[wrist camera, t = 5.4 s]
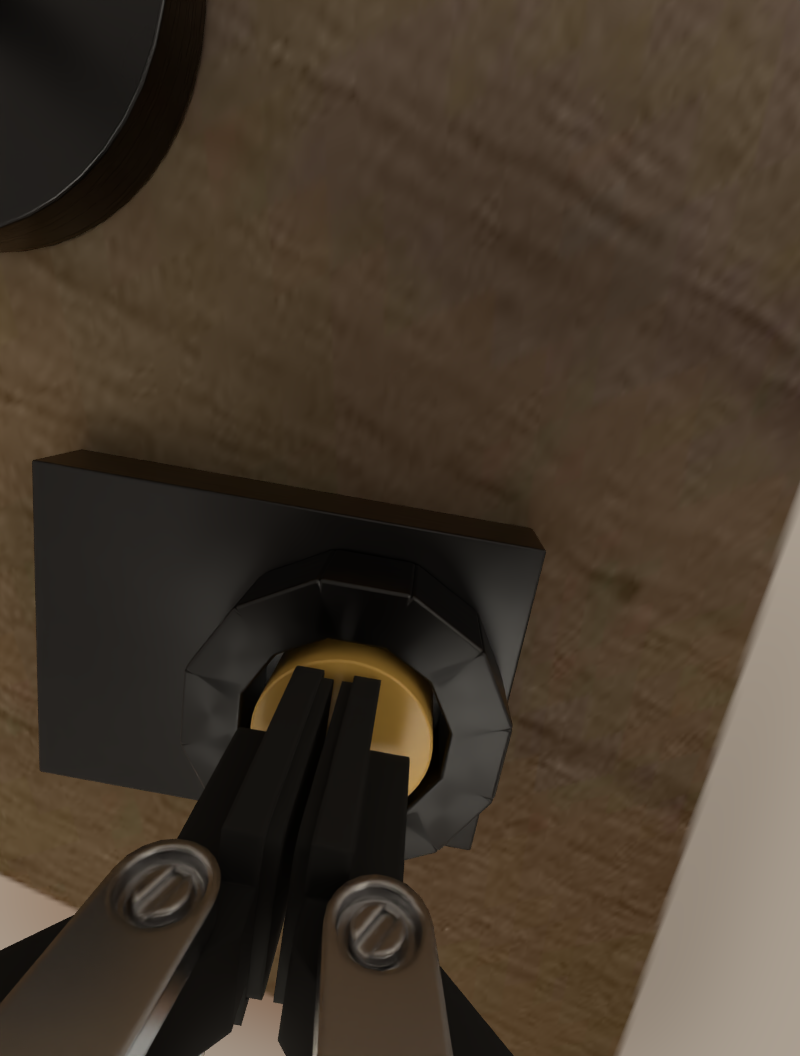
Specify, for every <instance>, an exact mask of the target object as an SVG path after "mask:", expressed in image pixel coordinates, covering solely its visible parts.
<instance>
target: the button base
mask: <svg viewBox="0 0 800 1056" xmlns="http://www.w3.org/2000/svg"><path fill="white" fill-rule="evenodd" d="M32 473H33V515H34V556H35V598H36V640H37V681H38V723H39V764H40V771H41V772H47V773H52V774H57V775H63V776H68V777H74V778H79V779H85V780H90V781H95V782H101V783H106V784H112V785H117V786H123V787H128V788H134V789H139V790H144V791H150V792H155V793H161V794H166V795H172V796H177V797H182V798H188V799H193V800H199V798H200V796H201V794H202V792H203V790H204V789H205V787H206V785H207V783H208V781H209V779H210V778H211V776H212V774H213V772H214V770H215V768H216V767H217V765H218V763H219V761H220V759H221V757H222V756H223V754H224V752H225V750H226V748H227V746H228V744H229V743H230V741H231V739H232V737H233V735H234V734H235V732H236V731H237V729H238V728H240V727H244V728H250V729H251V720H252V714H253V712H254V709H255V706H256V704H257V702H258V700H259V698H260V696H261V694H262V692H263V690H264V689H265V687H266V685H267V683H268V681H269V679H270V677H271V676H272V674H273V672H274V670H275V668H276V666H277V664H278V663H279V661H280V659H281V657H282V655H283V653H284V652H287V651H290V650H293V649H296V648H299V647H302V646H306V645H309V644H312V643H315V642H318V641H321V640H324V639H327V638H329V639H334V640H340V641H345V642H351V643H357V644H362V645H368V646H373V647H379V648H384V649H387V650H388V651H389V652H391V653H392V654H393V655H394V656H396V657H397V658H398V659H400V660H401V661H402V662H404V663H405V664H406V665H407V666H409V667H410V668H411V669H413V670H414V671H415V672H417V673H418V674H419V675H420V676H422V677H423V678H424V679H426V680H427V681H428V682H430V684H431V687H432V689H433V750H432V757H431V761H430V764H429V767H428V770H427V772H426V774H425V776H424V778H423V779H422V781H421V782H420V783H419V785H418V786H417V787H416V789H415V790H414V791H413V792H412V793H411V794H410V795H409V796H408V803H407V821H406V839H405V856H404V860H407V859H411V858H415V857H419V856H423V855H427V854H432V853H435V852H437V850H440V849H441V848H442V847H443V846H449V847H454V848H460V849H465V850H470V849H471V845H472V842H473V838H474V834H475V830H476V826H477V822H478V818H479V814H480V813H481V812H482V811H483V810H484V809H485V808H487V807H488V806H489V805H490V804H491V803H492V800H493V798H494V797H495V794H496V790H497V787H498V783H499V779H500V775H501V771H502V767H503V764H504V760H505V756H506V752H507V748H508V744H509V741H510V737H511V733H512V721H511V716H510V711H509V707H508V700H509V696H510V692H511V688H512V684H513V680H514V676H515V672H516V668H517V664H518V660H519V656H520V652H521V648H522V645H523V641H524V637H525V633H526V629H527V625H528V621H529V617H530V613H531V609H532V605H533V601H534V597H535V593H536V589H537V585H538V581H539V578H540V574H541V570H542V566H543V562H544V558H545V554H546V550H545V549H544V547H543V545H542V544H541V542H540V541H539V539H538V537H537V536H536V534H535V532H534V531H533V529H531V528H525V527H520V526H514V525H508V524H503V523H497V522H491V521H485V520H480V519H474V518H468V517H463V516H457V515H451V514H446V513H440V512H434V511H429V510H423V509H417V508H411V507H406V506H400V505H394V504H389V503H383V502H377V501H372V500H366V499H360V498H355V497H349V496H343V495H337V494H332V493H326V492H320V491H315V490H309V489H303V488H298V487H292V486H286V485H281V484H275V483H269V482H263V481H258V480H252V479H246V478H241V477H235V476H229V475H224V474H218V473H212V472H207V471H201V470H195V469H190V468H184V467H178V466H172V465H167V464H161V463H155V462H150V461H144V460H138V459H133V458H127V457H121V456H116V455H110V454H104V453H98V452H93V451H87V450H77V451H73V452H68V453H64V454H59V455H55V456H50V457H45V458H41V459H36V460H33V462H32Z"/></svg>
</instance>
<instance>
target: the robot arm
mask: <svg viewBox="0 0 800 1056" xmlns="http://www.w3.org/2000/svg"><path fill="white" fill-rule="evenodd" d="M324 675H325V671H324V670H321V669H316V668H310V667H304V666H299V665H297V666H296V668H295V669H294V672H293V674H292V676H291V678H290V680H289V683H288V685H287V687H286V689H285V691H284V693H283V696H282V698H281V700H280V702H279V704H278V706H277V709H276V711H275V713H274V715H273V717H272V720H271V722H270V724H269V726H268V728H267V730H266V731H261V730H255V729H250V728H244V727H240V728H238V729H237V731H236V732H235V734H234V735H233V737H232V739H231V741H230V743H229V744H228V746H227V748H226V750H225V752H224V754H223V756H222V757H221V759H220V761H219V763H218V765H217V767H216V768H215V770H214V772H213V774H212V776H211V778H210V779H209V781H208V783H207V785H206V787H205V789H204V790H203V792H202V794H201V796H200V798H199V800H198V802H197V803H196V805H195V807H194V809H193V811H192V813H191V814H190V816H189V818H188V820H187V822H186V824H185V825H184V827H183V829H182V831H181V833H180V835H179V836H178V838H177V839H168V840H160V841H157V842H153V843H150V844H147V845H144V846H142V847H140V848H139V849H137V850H135V851H134V852H132V853H130V854H128V855H127V856H126V857H125V858H124V859H123V860H121V861H120V862H119V863H118V864H117V865H116V866H115V867H114V868H113V869H112V870H111V872H110V873H109V874H108V875H107V876H106V878H105V879H104V880H103V881H102V882H101V884H100V885H99V886H98V887H97V888H96V889H95V891H94V892H93V893H92V894H91V895H90V897H89V898H88V899H87V900H86V901H85V903H84V904H83V905H82V906H81V907H80V909H79V910H78V911H77V912H76V913H75V915H73V916H71V917H69V918H67V919H65V920H63V921H61V922H58V923H56V924H55V925H52V926H50V927H48V928H46V929H44V930H42V931H40V932H38V933H36V934H34V935H31V936H29V937H27V938H25V939H23V940H21V941H19V942H17V943H15V944H13V945H11V946H9V947H7V948H4V949H3V950H0V1056H204V1054H205V1051H206V1050H207V1049H209V1048H210V1047H211V1046H213V1045H214V1044H215V1043H217V1042H218V1041H220V1040H221V1039H222V1038H224V1037H225V1036H226V1035H228V1034H229V1033H230V1032H231V1031H232V1028H233V1024H235V1025H240V1026H241V1024H242V1021H243V1017H244V1014H245V1010H246V1007H247V1004H248V1000H249V998H252V999H258V1000H262V998H263V996H264V992H265V989H266V985H267V982H268V978H269V974H270V971H271V967H272V963H273V959H274V956H275V952H276V948H277V944H278V941H279V937H280V933H281V930H282V926H283V922H284V928H283V936H282V943H281V950H280V957H279V964H278V971H277V979H276V986H275V993H274V1001H273V1002H275V1003H280V1004H283V1009H282V1016H281V1023H280V1029H279V1036H278V1042H279V1043H280V1046H281V1047H282V1049H283V1051H284V1053H285V1055H286V1056H513V1054H512V1053H511V1052H510V1051H509V1050H508V1048H507V1047H506V1046H505V1045H504V1043H503V1042H502V1041H501V1040H500V1039H499V1037H498V1036H497V1035H496V1034H495V1032H494V1031H493V1030H492V1029H491V1028H490V1026H489V1025H488V1024H487V1023H486V1022H485V1020H484V1019H483V1018H482V1017H481V1015H480V1014H479V1013H478V1012H477V1011H476V1009H475V1008H474V1007H473V1006H472V1004H471V1003H470V1002H469V1001H468V1000H467V998H466V997H465V996H464V995H463V993H462V992H461V991H460V990H459V989H458V987H457V986H456V985H455V984H454V983H453V981H452V980H451V979H450V978H449V976H448V975H447V974H446V973H445V972H444V970H443V969H442V968H441V967H440V965H439V959H438V952H437V946H436V939H435V933H434V926H433V923H432V919H431V916H430V913H429V910H428V908H427V907H426V905H425V903H424V902H423V900H422V899H421V897H420V896H419V895H418V894H417V893H416V892H415V891H414V890H413V889H411V888H410V887H409V886H408V885H407V884H405V883H403V874H404V856H405V839H406V821H407V803H408V786H409V768H410V758H409V757H407V756H401V755H396V754H390V753H384V752H379V751H373V750H370V747H371V741H372V735H373V729H374V722H375V716H376V710H377V704H378V698H379V692H380V686H381V680H378V679H372V678H367V677H361V676H354V678H353V682H352V683H351V682H346V681H342V683H341V686H340V690H339V693H338V697H337V700H336V704H335V707H334V711H333V714H332V717H331V721H330V724H329V728H328V731H327V724H328V717H329V710H330V704H331V697H332V690H333V683H334V679H329V678H324ZM326 731H327V735H326ZM325 737H326V738H325ZM284 918H285V921H284Z"/></svg>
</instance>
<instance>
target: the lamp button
mask: <svg viewBox="0 0 800 1056" xmlns="http://www.w3.org/2000/svg"><path fill="white" fill-rule="evenodd" d="M297 665H299V666H304V667H310V668H316V669H321V670H324V671H325V675H324V678H329V679H334V683H333V690H332V697H331V704H330V710H329V717H328V724H327V731H328V728H329V724H330V721H331V717H332V714H333V711H334V707H335V704H336V700H337V697H338V693H339V690H340V686H341V683H342V681H346V682H351V683H352V682H353V678H354V676H361V677H367V678H372V679H378V680H381V686H380V692H379V698H378V704H377V710H376V716H375V722H374V729H373V735H372V741H371V747H370V750H373V751H379V752H384V753H390V754H396V755H401V756H407V757H409V758H410V768H409V786H408V796H409V795H410V794H411V793H412V792H413V791H414V790H415V789H416V787H417V786H418V785H419V783H420V782H421V781H422V779H423V778H424V776H425V774H426V772H427V770H428V767H429V764H430V761H431V757H432V750H433V689H432V687H431V684H430V682H428V681H427V680H426V679H424V678H423V677H422V676H420V675H419V674H418V673H417V672H415V671H414V670H413V669H411V668H410V667H409V666H407V665H406V664H405V663H404V662H402V661H401V660H400V659H398V658H397V657H396V656H394V655H393V654H392V653H391V652H389V651H388V650H387V649H384V648H379V647H373V646H368V645H362V644H357V643H351V642H345V641H340V640H334V639H329V638H327V639H324V640H321V641H318V642H315V643H312V644H309V645H306V646H302V647H299V648H296V649H293V650H290V651H287V652H284V653H283V655H282V657H281V659H280V661H279V663H278V664H277V666H276V668H275V670H274V672H273V674H272V676H271V677H270V679H269V681H268V683H267V685H266V687H265V689H264V690H263V692H262V694H261V696H260V698H259V700H258V702H257V704H256V706H255V709H254V712H253V714H252V720H251V729H255V730H261V731H266V730H267V728H268V726H269V724H270V722H271V720H272V717H273V715H274V713H275V711H276V709H277V706H278V704H279V702H280V700H281V698H282V696H283V693H284V691H285V689H286V687H287V685H288V683H289V680H290V678H291V676H292V674H293V672H294V669H295V668H296V666H297ZM327 731H326V735H327ZM325 738H326V737H325Z"/></svg>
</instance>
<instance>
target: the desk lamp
mask: <svg viewBox="0 0 800 1056" xmlns="http://www.w3.org/2000/svg"><path fill="white" fill-rule="evenodd" d="M205 13H206V0H0V252H19V251H28V250H33V249H38V248H42V247H47V246H52V245H55V244H57V243H60V242H63V241H65V240H68V239H71V238H73V237H76V236H78V235H80V234H82V233H84V232H86V231H87V230H89V229H91V228H93V227H94V226H96V225H98V224H100V223H101V222H103V221H105V220H106V219H107V218H108V217H110V216H111V215H112V214H113V213H115V212H116V211H117V210H118V209H119V208H121V207H122V206H123V205H124V204H126V203H127V202H128V201H129V200H130V199H131V198H132V197H133V195H134V194H135V193H136V192H137V191H138V190H139V189H140V188H141V187H142V186H143V184H144V183H145V182H146V181H147V180H148V179H149V177H150V176H151V174H152V173H153V172H154V170H155V169H156V167H157V166H158V164H159V163H160V161H161V160H162V158H163V157H164V155H165V154H166V152H167V150H168V148H169V146H170V144H171V142H172V140H173V138H174V136H175V134H176V132H177V130H178V128H179V126H180V124H181V122H182V119H183V116H184V113H185V111H186V108H187V105H188V102H189V99H190V96H191V94H192V91H193V87H194V83H195V78H196V74H197V69H198V65H199V60H200V56H201V51H202V41H203V32H204V23H205Z"/></svg>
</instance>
